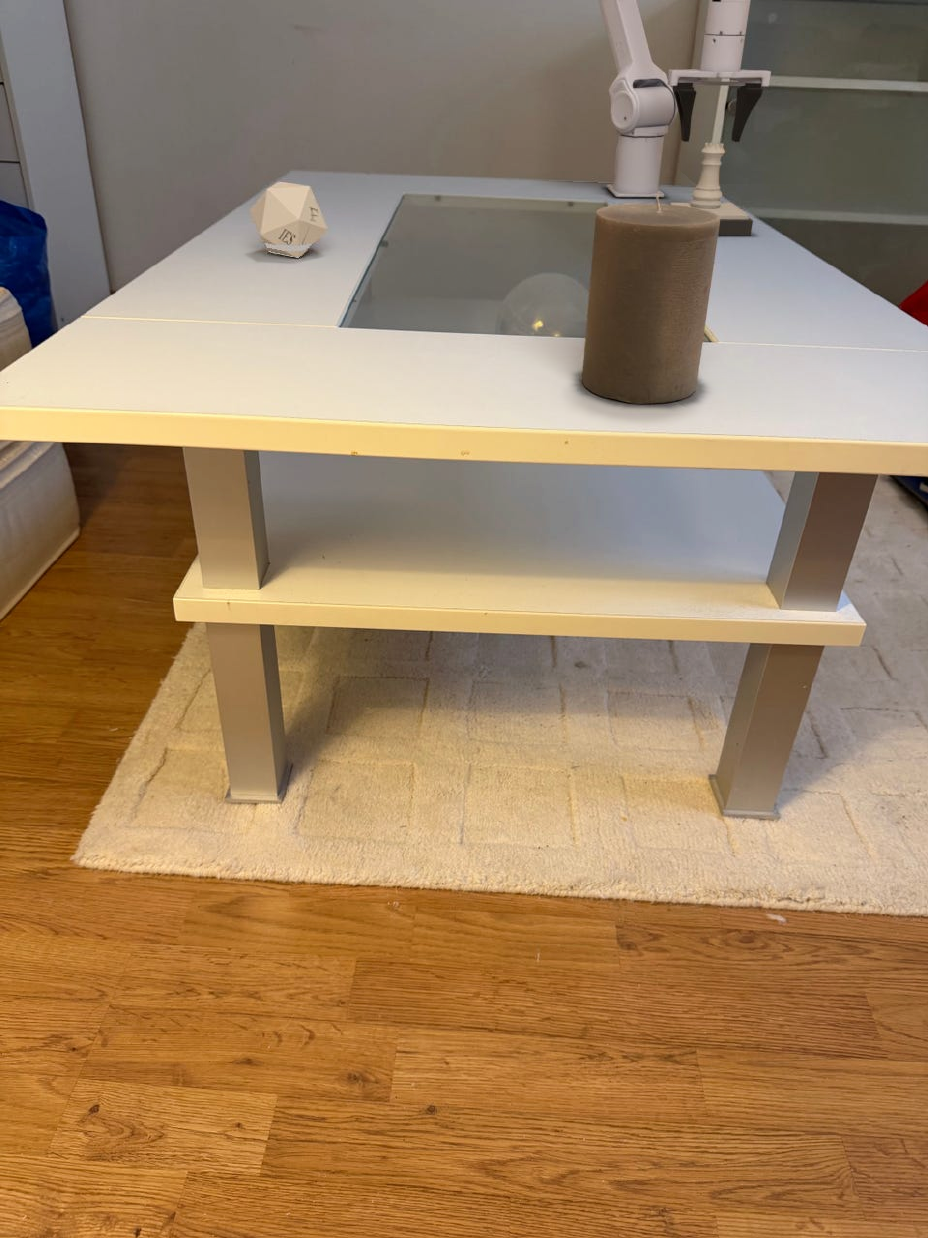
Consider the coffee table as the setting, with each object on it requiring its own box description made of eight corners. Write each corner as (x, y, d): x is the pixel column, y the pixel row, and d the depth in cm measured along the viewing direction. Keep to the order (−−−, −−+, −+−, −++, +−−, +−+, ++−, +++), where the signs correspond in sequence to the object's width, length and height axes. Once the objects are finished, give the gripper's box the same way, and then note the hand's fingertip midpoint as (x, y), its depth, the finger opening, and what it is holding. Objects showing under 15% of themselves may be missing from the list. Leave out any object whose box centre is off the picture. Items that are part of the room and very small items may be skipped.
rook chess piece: (724, 208, 134) (734, 145, 129) (692, 208, 134) (701, 145, 129) (718, 203, 137) (727, 141, 133) (687, 202, 137) (695, 141, 133)
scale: (663, 220, 140) (665, 201, 138) (730, 220, 140) (733, 201, 138) (679, 235, 131) (681, 215, 129) (750, 235, 131) (754, 215, 130)
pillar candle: (619, 411, 76) (640, 210, 68) (561, 373, 83) (574, 188, 75) (720, 395, 79) (751, 201, 71) (655, 360, 87) (677, 181, 78)
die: (261, 270, 115) (305, 201, 110) (224, 221, 118) (265, 151, 113) (309, 282, 122) (352, 218, 117) (273, 236, 125) (314, 171, 120)
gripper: (680, 35, 132) (668, 144, 139) (783, 36, 132) (765, 144, 140) (669, 33, 137) (658, 137, 145) (768, 34, 138) (751, 138, 145)
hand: (710, 140), depth 143 cm, fingers open, 7 cm apart
